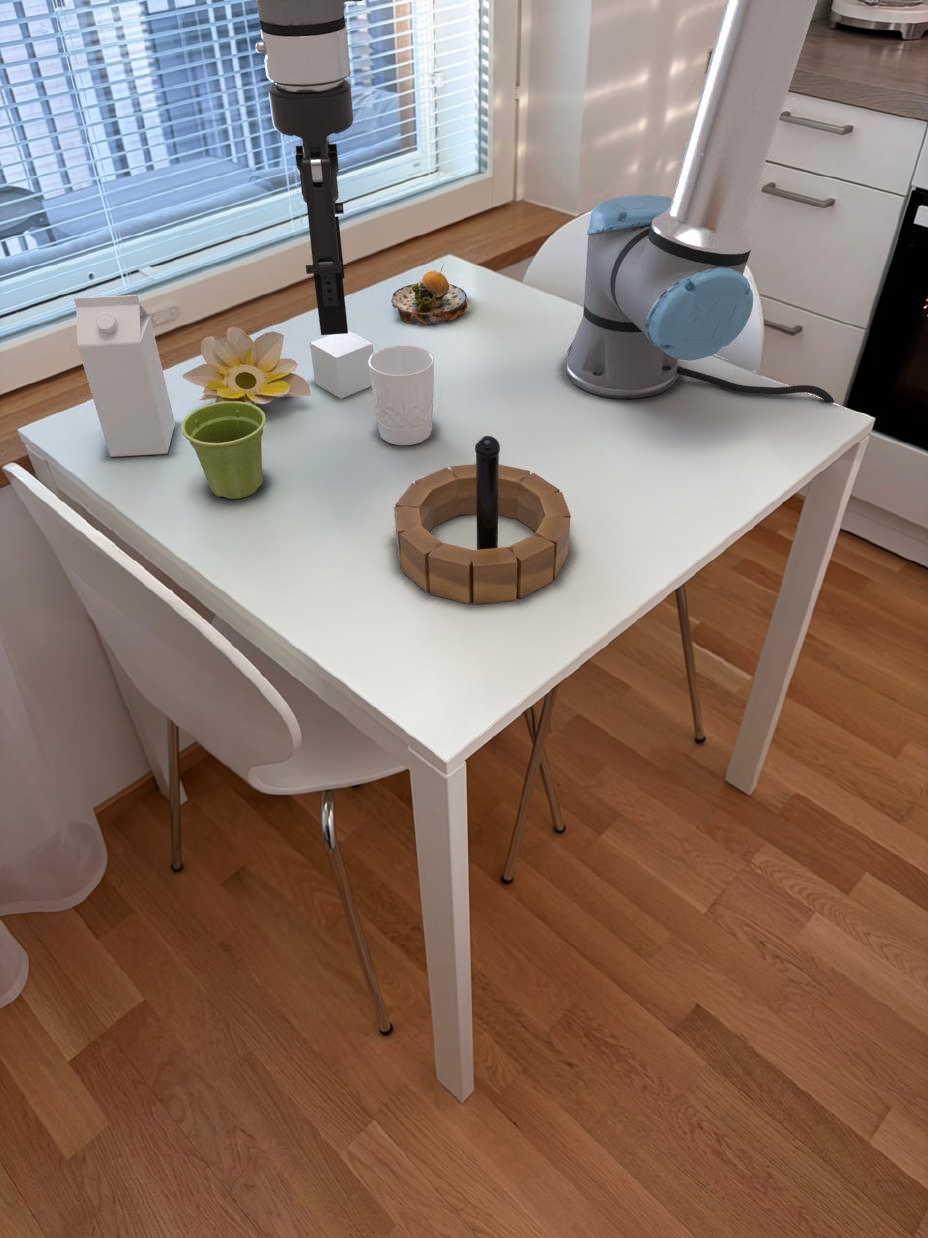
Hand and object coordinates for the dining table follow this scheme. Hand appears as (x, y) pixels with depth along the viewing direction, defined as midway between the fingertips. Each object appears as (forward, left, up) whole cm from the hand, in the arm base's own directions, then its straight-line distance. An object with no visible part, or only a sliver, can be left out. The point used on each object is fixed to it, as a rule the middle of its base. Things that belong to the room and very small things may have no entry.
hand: (333, 304), depth 104 cm
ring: (-13, +16, -22) cm, 30 cm away
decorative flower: (+13, -19, -22) cm, 32 cm away
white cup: (-7, -9, -22) cm, 25 cm away
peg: (-13, +20, -22) cm, 32 cm away
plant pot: (+14, 0, -22) cm, 26 cm away
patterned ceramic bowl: (-14, -45, -22) cm, 52 cm away
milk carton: (+26, -12, -22) cm, 36 cm away
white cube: (0, -23, -22) cm, 32 cm away
